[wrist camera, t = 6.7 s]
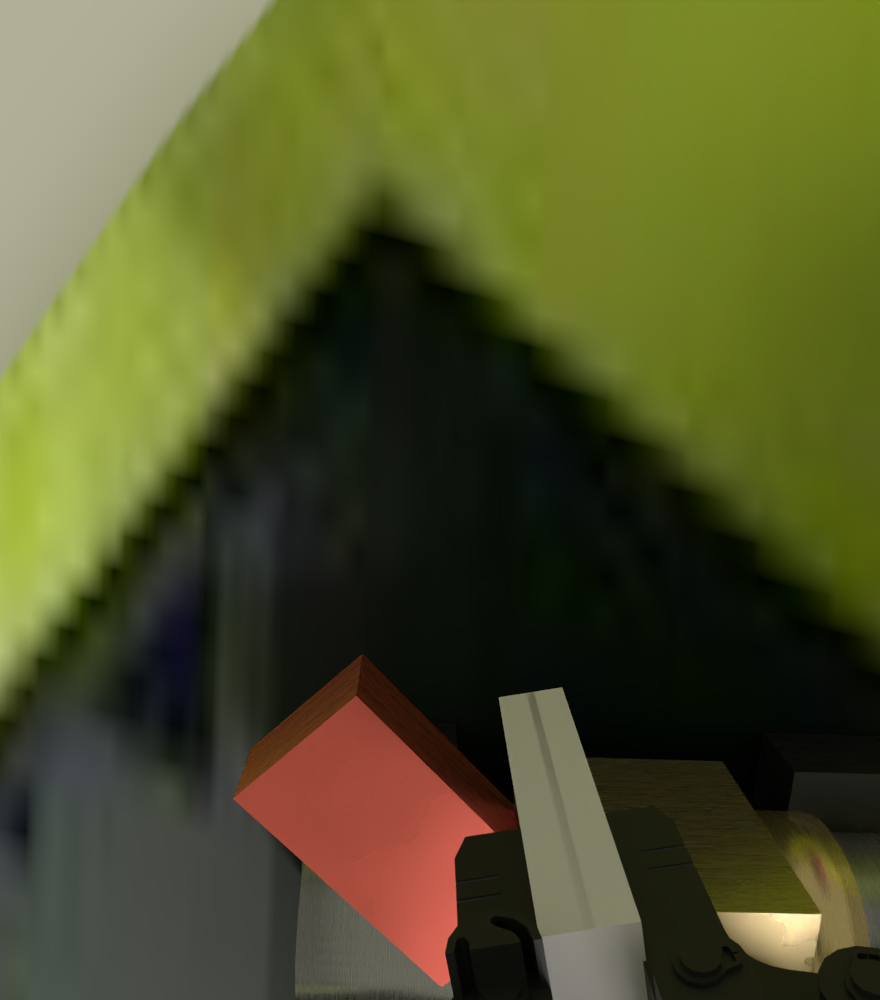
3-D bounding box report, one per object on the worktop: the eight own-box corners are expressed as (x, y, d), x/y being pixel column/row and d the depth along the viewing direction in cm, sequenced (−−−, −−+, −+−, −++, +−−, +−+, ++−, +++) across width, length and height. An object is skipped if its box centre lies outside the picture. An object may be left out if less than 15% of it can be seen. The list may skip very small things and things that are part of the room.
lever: (800, 1081, 20) (839, 1161, 18) (683, 1159, 20) (710, 1244, 19) (369, 647, 17) (364, 691, 15) (245, 753, 17) (224, 808, 15)
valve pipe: (900, 736, 29) (1147, 962, 19) (865, 901, 31) (1076, 1187, 21) (312, 717, 28) (256, 945, 18) (310, 888, 30) (258, 1180, 20)
